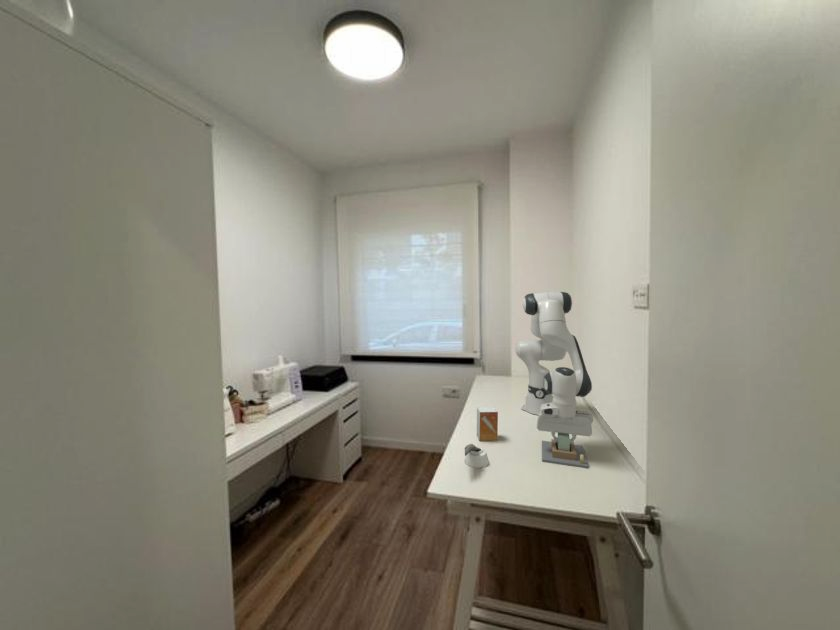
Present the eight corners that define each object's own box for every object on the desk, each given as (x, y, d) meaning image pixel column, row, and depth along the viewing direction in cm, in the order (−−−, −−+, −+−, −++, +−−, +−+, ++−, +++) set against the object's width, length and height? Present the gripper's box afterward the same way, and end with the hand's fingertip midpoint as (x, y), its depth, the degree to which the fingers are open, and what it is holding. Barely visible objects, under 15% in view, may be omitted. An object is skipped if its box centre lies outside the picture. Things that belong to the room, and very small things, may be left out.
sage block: (558, 451, 134) (558, 436, 134) (557, 444, 141) (557, 430, 140) (569, 453, 133) (569, 438, 132) (568, 445, 139) (568, 431, 139)
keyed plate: (541, 442, 148) (541, 433, 148) (582, 447, 143) (582, 438, 143) (542, 461, 131) (542, 451, 131) (588, 468, 126) (588, 458, 126)
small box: (479, 441, 149) (479, 412, 149) (476, 435, 156) (476, 407, 155) (497, 440, 150) (498, 411, 149) (494, 435, 156) (494, 406, 155)
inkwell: (491, 458, 134) (491, 433, 133) (480, 482, 117) (480, 453, 116) (468, 454, 137) (468, 430, 137) (454, 476, 121) (454, 449, 120)
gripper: (592, 409, 135) (591, 443, 136) (537, 404, 142) (536, 437, 143) (594, 414, 129) (593, 450, 130) (537, 409, 136) (536, 443, 137)
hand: (563, 443), depth 137 cm, fingers closed on sage block, 4 cm apart
